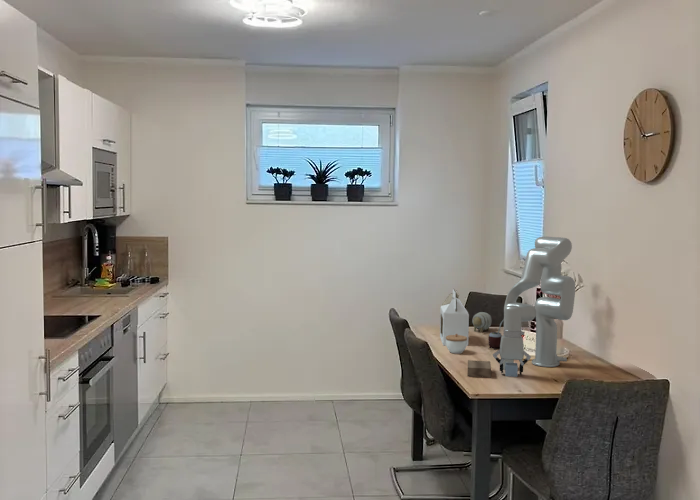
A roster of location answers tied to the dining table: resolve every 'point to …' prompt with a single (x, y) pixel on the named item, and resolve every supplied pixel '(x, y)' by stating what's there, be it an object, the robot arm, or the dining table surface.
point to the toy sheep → (481, 321)
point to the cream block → (507, 362)
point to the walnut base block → (479, 369)
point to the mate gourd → (495, 339)
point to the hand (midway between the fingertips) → (511, 373)
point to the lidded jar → (456, 343)
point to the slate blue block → (511, 369)
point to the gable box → (453, 318)
